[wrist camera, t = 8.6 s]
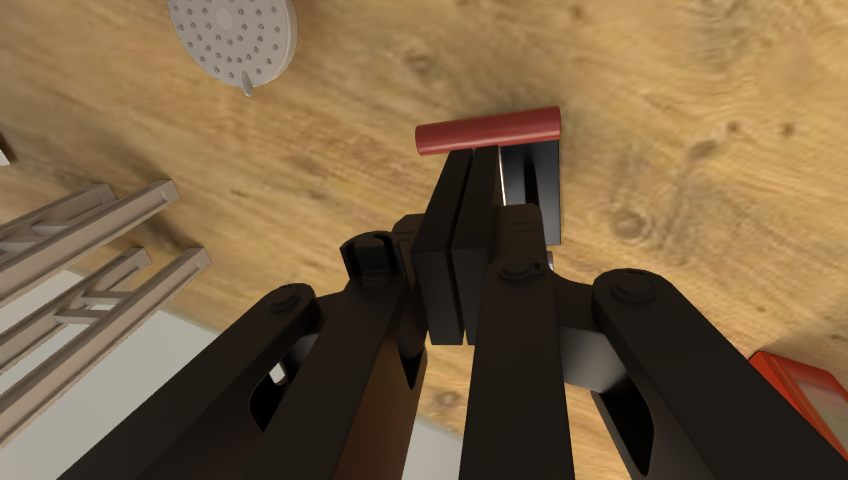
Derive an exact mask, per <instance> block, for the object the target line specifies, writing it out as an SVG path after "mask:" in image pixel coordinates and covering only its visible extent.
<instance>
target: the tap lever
mask: <svg viewBox="0 0 848 480" xmlns="http://www.w3.org/2000/svg"><path fill="white" fill-rule="evenodd" d="M560 137H561V115H560V108H559V106H551V107H544V108H537V109H530V110H523V111H516V112H509V113H502V114H495V115H488V116H481V117H474V118H467V119H460V120H453V121H445V122H438V123H431V124H424V125H418V126H417V127H416V130H415V140H416V146H417V150H418V152H419V154H420V155H421V156H424V155H432V154H440V153H448V152H450V151H451V150H459V149H467V148H472V150H473V149H476V147H483V146H491V145H498V147H499V157H500V168H501V178H502V188H503V199H504V205H508V202H507V194H506V186H505V177H504V169H503V161H502V153H501V146H506V145H515V144H523V143H531V142H539V141H548V140H556V139H560Z"/></svg>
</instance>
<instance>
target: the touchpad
mask: <svg viewBox="0 0 848 480" xmlns="http://www.w3.org/2000/svg"><path fill="white" fill-rule="evenodd" d="M0 165H11V164H10V163H9V161H8V160H7V158H6V157H5V155H4V154H3V152H2V151H1V149H0Z"/></svg>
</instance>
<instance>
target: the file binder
mask: <svg viewBox="0 0 848 480" xmlns="http://www.w3.org/2000/svg"><path fill="white" fill-rule="evenodd" d="M749 362H750V363H751V364H752V365H753V366H754V367H755V368H756V369H757V370H758V371H759V372H760V373H761V374H762V375H763V376H764V377H765V378H766V379H767V380H768V381H769V382H770V383H771V384H772V385H773V386H774V387H775V388H776V390H777V391H778V392H779V393H780V394H781V395H782V396H783V397H784V398H785V399H786V400H787V401H788V402H789V403H790V404H791V405H792V406H793V407H794V408H795V409H796V410H797V411H798V412H799V413H800V414H801V415H802V416H803V417H804V418H805V419H806V420H807V421H808V422H809V423H810V424H811V425H812V426H813V427H814V428H815V429H816V430H817V431H818V432H819V433H820V434H821V435H822V436H823V437H824V438H825V439H826V440H827V441H828V442H829V443H830V444H831V445H832V446H833V447H834V448H835V449H836V450H837V451H838V452H839V453H840V454H841V455H842V456H843V457H844V458H845V459H846V460H847V461H848V393H847V392H846V391H845V389H844V388H843V387H842V386H841V385H840V383H839V382H838V381H837V380H836V379H835V378H834V376H833V375H832V374H830V373H829V372H828V371H825V370H821V369H818V368H815V367H812V366H808V365H805V364H802V363H799V362H795V361H792V360H789V359H786V358H782V357H779V356H776V355H773V354H770V353H766V352H763V351H762V352H758V353H757V354H756V355H754V356H753V357H752V358H751V359H750V360H749Z"/></svg>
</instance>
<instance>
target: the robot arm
mask: <svg viewBox="0 0 848 480" xmlns="http://www.w3.org/2000/svg"><path fill="white" fill-rule="evenodd" d="M340 251H341V254H342V257H343V260H344V263H345V266H346V269H347V272H348V275H349V278H350V280H349V281H348V283H347V285H346V287H345V289H344V290H343V291H341V292H338V293H333V294H329V295H325V296H321V297H316V295H315V292H314V290H313V289H312V287H311V286H310V285H307V284H304V283H293V284H288V285H283V286H281V287H279V288H277V289H275V290H273V291H271V292H270V293H268V294H267V295H265V296H264V297H263V298H262V299H260V300H259V301H258V302H257V303H256V304H255V305H254V306H252V307H251V308H250V309H249V310H248V311H247V312H246V313H244V314H243V315H242V316H241V317H240V318H239V319H238V320H237V321H235V322H234V323H233V324H232V325H231V326H230V327H229V328H227V329H226V330H225V331H224V332H223V333H222V334H221V335H220V336H218V337H217V338H216V339H215V340H214V341H213V342H212V343H210V344H209V345H208V346H207V347H206V348H205V349H204V350H203V351H201V352H200V353H199V354H198V355H197V356H196V357H195V358H193V359H192V360H191V361H190V362H189V363H188V364H187V365H185V366H184V367H183V368H182V369H181V370H180V371H179V372H178V373H176V374H175V375H174V376H173V377H172V378H171V379H170V380H169V381H168V382H166V383H165V384H164V385H163V386H162V387H161V388H159V389H158V390H157V391H156V392H155V393H154V394H153V395H151V396H150V397H149V398H148V399H147V400H146V401H145V402H143V403H142V404H141V405H140V406H139V407H138V408H137V409H136V410H135V411H133V412H132V413H131V414H130V415H129V416H128V417H126V419H124V420H123V421H122V422H121V423H120V424H119V425H117V426H116V427H115V428H114V429H113V430H112V431H111V432H109V434H107V435H106V436H105V437H104V438H103V439H102V440H100V441H99V442H98V443H97V444H96V445H95V446H94V447H92V448H91V449H90V450H89V451H88V452H87V453H86V454H84V455H83V456H82V457H81V458H80V459H79V460H78V461H77V462H75V463H74V464H73V465H72V466H71V467H70V468H69V469H68V470H66V471H65V472H64V473H63V474H62V475H61V476H60V477H58V478H57V479H56V480H401V479H402V475H403V470H404V466H405V461H406V457H407V452H408V447H409V443H410V438H411V434H412V429H413V425H414V420H415V416H416V411H417V407H418V402H419V398H420V393H421V389H422V384H423V380H424V375H425V371H426V366H427V351H426V347H425V339H426V335H427V331H429V335H430V340H431V344H432V345H462V344H463V337H464V330H465V331H466V337H467V342H468V345H475V350H474V358H473V366H472V374H471V382H470V390H469V398H468V406H467V414H466V422H465V430H464V438H463V447H462V455H461V462H460V471H459V479H458V480H575V473H574V464H573V456H572V447H571V438H570V430H569V421H568V413H567V404H566V395H565V387H564V382H565V383H568V384H572V385H575V386H579V387H582V388H585V389H589V390H590V392H591V396H592V398H593V400H594V402H595V404H596V406H597V408H598V411H599V413H600V415H601V417H602V419H603V421H604V423H605V425H606V427H607V429H608V431H609V433H610V435H611V437H612V439H613V441H614V443H615V446H616V448H617V450H618V452H619V454H620V456H621V458H622V460H623V462H624V464H625V466H626V468H627V470H628V472H629V474H630V476H631V479H632V480H848V461H847V460H846V459H845V458H844V457H843V456H842V455H841V454H840V453H839V452H838V451H837V450H836V449H835V448H834V447H833V446H832V445H831V444H830V443H829V442H828V441H827V440H826V439H825V438H824V437H823V436H822V435H821V434H820V433H819V432H818V431H817V430H816V429H815V428H814V427H813V426H812V425H811V424H810V423H809V422H808V421H807V420H806V419H805V418H804V417H803V416H802V415H801V414H800V413H799V412H798V411H797V410H796V409H795V408H794V407H793V406H792V405H791V404H790V403H789V402H788V401H787V400H786V399H785V398H784V397H783V396H782V395H781V394H780V393H779V392H778V391H777V390H776V388H775V387H774V386H773V385H772V384H771V383H770V382H769V381H768V380H767V379H766V378H765V377H764V376H763V375H762V374H761V373H760V372H759V371H758V370H757V369H756V368H755V367H754V366H753V365H752V364H751V363H750V362H749V361H748V360H747V359H746V358H745V357H744V356H743V355H742V354H741V353H740V352H739V351H738V350H737V349H736V348H735V347H734V346H733V345H732V344H731V343H730V342H729V341H728V340H727V339H726V338H725V337H724V336H723V335H722V334H721V333H720V332H719V331H718V330H717V329H716V328H715V327H714V326H713V325H712V324H711V323H710V322H709V321H708V320H707V319H706V318H705V317H704V316H703V315H702V314H701V313H700V312H699V311H698V310H697V309H696V308H695V307H694V306H693V305H692V304H691V303H690V302H689V301H688V300H687V299H686V298H685V297H684V296H683V295H682V294H681V293H680V292H679V291H678V290H677V289H676V288H675V287H674V286H673V285H672V284H671V283H670V282H669V281H667V280H666V279H664V278H663V277H662V276H660V275H657V274H654V273H652V272H649V271H646V270H640V269H633V268H625V269H614V270H611V271H607V272H604V273H602V274H601V275H600V276H598V277H597V278H596V279H595V280H594V283H593V285H589V284H583V283H578V282H574V281H570V280H567V279H565V278H563V277H561V276H559V275H558V274H556V273H555V272H554V271H553V270H552V269H551V268H550V266H549V263H548V258H547V250H546V242H545V234H544V226H543V218H542V211H541V210H540V209H539V208H538V207H537V206H536V205H534V204H533V203H526V204H514V205H504V199H503V188H502V178H501V168H500V157H499V147H498V145H491V146H483V147H476V149H475V154H474V158H473V151H472V148H467V149H459V150H451V151H450V153H449V155H448V158H447V160H446V163H445V165H444V168H443V170H442V173H441V175H440V178H439V180H438V183H437V185H436V187H435V190H434V192H433V195H432V197H431V200H430V202H429V205H428V207H427V210H426V212H425V213H421V214H409V215H405V216H404V217H403V218H402V219H400V220H399V221H398V222H397V223H395V225H394V227H393V229H392V231H391V232H388V231H372V232H366V233H363V234H360V235H357V236H355V237H353V238H351V239H350V240H348V241H346V242H345V243H344V244H343V245H342V246H341V247H340ZM278 363H279V365H280V366H281V368H282V370H283V372H284V374H285V376H284V377H283V379H281V380H280V381H279V382H277V383H274V382H273V380H272V378H271V376H270V374H269V372H270V371H271V370H272V369H273V368H274V367H275V366H276V365H277V364H278Z"/></svg>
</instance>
